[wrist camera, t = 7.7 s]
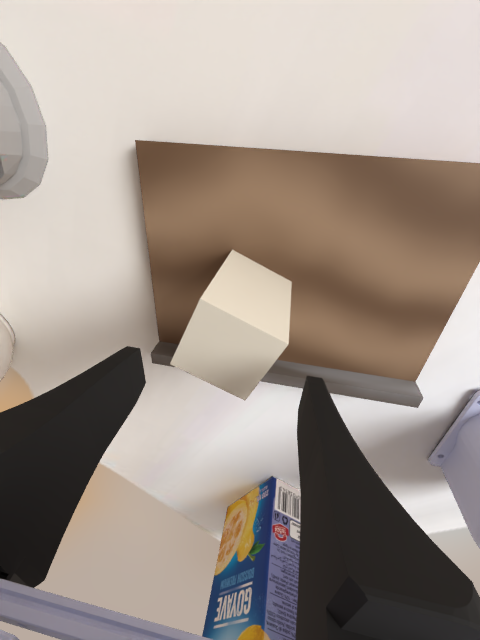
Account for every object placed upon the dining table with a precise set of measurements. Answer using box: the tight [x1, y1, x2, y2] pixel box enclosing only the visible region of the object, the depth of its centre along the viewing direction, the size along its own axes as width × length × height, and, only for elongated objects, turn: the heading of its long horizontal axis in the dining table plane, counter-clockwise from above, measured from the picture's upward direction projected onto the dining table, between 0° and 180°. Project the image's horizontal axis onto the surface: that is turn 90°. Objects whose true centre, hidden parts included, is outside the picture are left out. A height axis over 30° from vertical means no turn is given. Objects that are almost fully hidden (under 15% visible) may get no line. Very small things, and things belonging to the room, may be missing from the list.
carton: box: [170, 250, 292, 400], centre depth 16 cm, size 5×4×7 cm
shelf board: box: [135, 140, 480, 408], centre depth 18 cm, size 15×20×3 cm
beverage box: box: [202, 476, 301, 640], centre depth 26 cm, size 7×11×22 cm, turn 149°
